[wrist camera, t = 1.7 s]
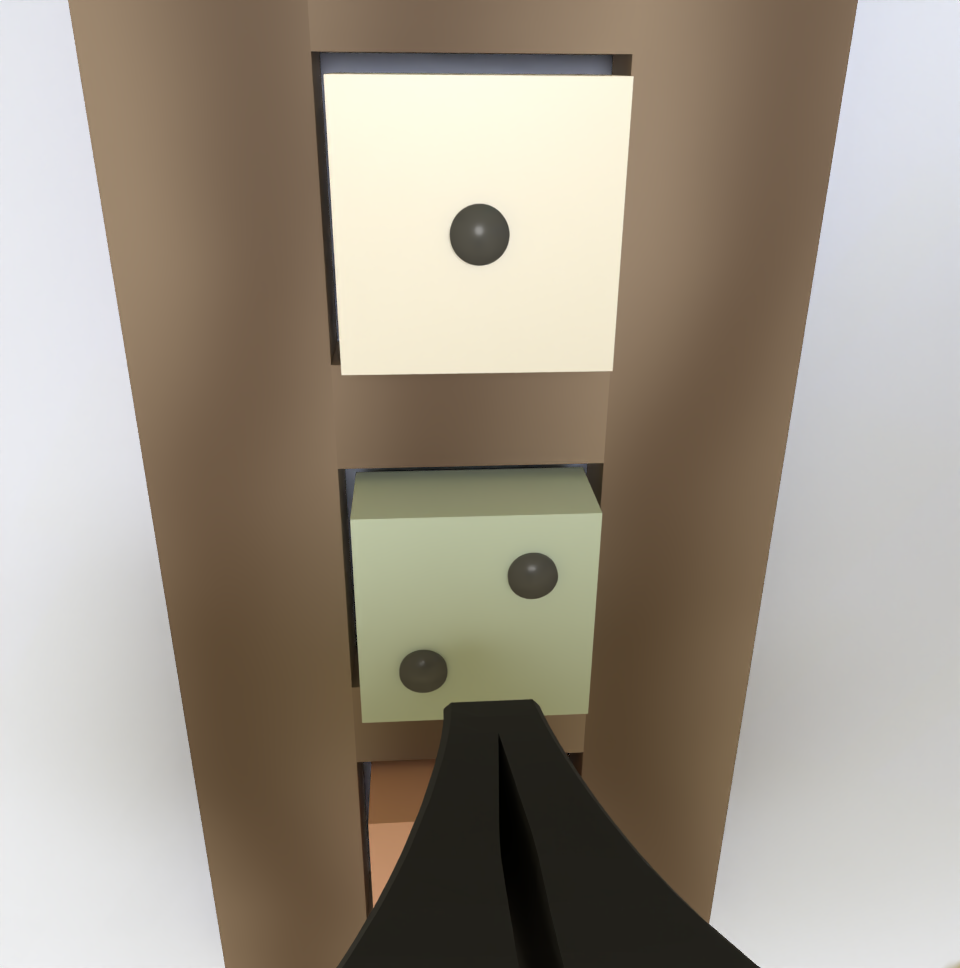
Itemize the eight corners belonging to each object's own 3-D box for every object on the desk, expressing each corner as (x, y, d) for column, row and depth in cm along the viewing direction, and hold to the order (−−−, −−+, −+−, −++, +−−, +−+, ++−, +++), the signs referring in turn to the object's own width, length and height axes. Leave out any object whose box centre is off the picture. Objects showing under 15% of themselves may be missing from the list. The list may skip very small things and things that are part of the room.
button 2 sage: (582, 467, 18) (603, 516, 16) (571, 653, 20) (589, 718, 18) (356, 472, 17) (349, 523, 16) (366, 661, 19) (361, 727, 17)
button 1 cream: (605, 74, 15) (635, 76, 13) (590, 337, 17) (614, 373, 15) (334, 72, 14) (322, 74, 13) (349, 340, 16) (340, 377, 14)
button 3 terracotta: (565, 747, 21) (581, 817, 19) (557, 886, 23) (571, 963, 21) (371, 756, 20) (368, 828, 18) (379, 896, 22) (376, 975, 20)
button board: (835, -113, 15) (878, -131, 13) (684, 922, 25) (700, 972, 24) (79, -130, 14) (43, -151, 13) (240, 948, 24) (230, 1001, 23)
